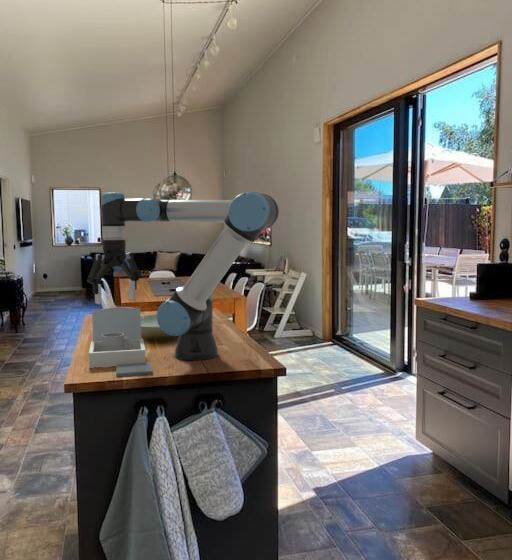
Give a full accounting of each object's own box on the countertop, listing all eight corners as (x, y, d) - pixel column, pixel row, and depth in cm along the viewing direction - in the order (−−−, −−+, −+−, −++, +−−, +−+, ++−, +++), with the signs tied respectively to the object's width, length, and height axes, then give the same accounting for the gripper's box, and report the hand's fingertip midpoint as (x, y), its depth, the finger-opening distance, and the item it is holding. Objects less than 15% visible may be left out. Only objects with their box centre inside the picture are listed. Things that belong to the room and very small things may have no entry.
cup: (103, 358, 196) (102, 333, 196) (133, 356, 198) (132, 331, 197) (101, 363, 189) (100, 337, 188) (132, 361, 191) (131, 336, 190)
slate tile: (152, 374, 176) (152, 371, 175) (116, 376, 173) (116, 373, 173) (150, 365, 186) (150, 362, 186) (116, 367, 184) (116, 364, 183)
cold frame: (145, 364, 187) (144, 318, 186) (89, 368, 183) (87, 320, 181) (142, 349, 210) (141, 307, 208) (92, 352, 205) (90, 309, 204)
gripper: (137, 237, 201) (138, 296, 203) (74, 239, 183) (76, 304, 185) (150, 238, 196) (151, 298, 199) (87, 240, 178) (89, 306, 180)
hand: (115, 301), depth 192 cm, fingers open, 13 cm apart
